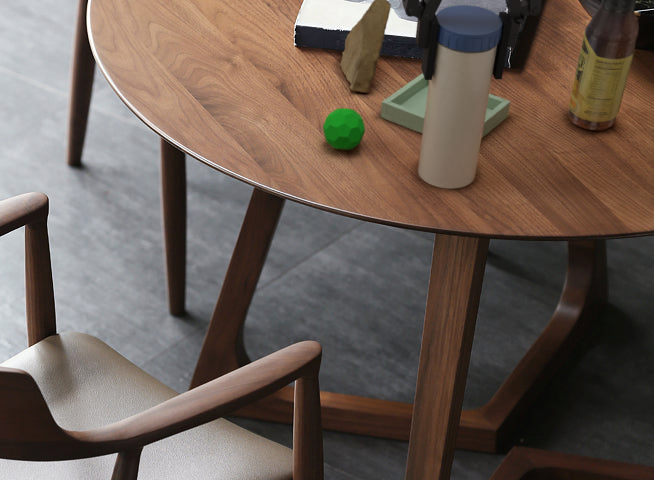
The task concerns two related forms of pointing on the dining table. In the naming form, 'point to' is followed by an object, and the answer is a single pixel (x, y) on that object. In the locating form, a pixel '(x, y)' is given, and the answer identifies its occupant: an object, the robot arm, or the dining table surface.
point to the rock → (365, 46)
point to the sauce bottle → (604, 65)
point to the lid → (468, 28)
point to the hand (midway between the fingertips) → (461, 73)
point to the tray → (411, 107)
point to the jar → (455, 116)
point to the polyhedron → (344, 129)
